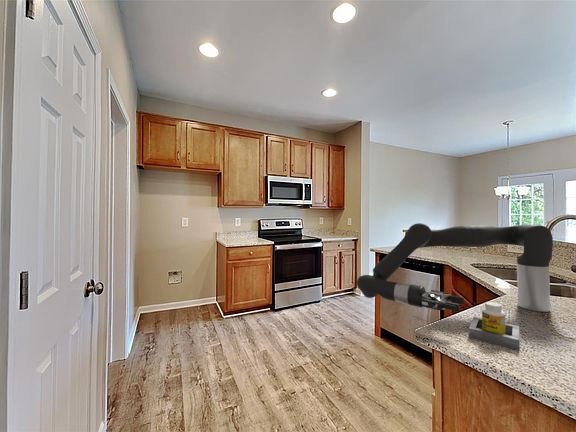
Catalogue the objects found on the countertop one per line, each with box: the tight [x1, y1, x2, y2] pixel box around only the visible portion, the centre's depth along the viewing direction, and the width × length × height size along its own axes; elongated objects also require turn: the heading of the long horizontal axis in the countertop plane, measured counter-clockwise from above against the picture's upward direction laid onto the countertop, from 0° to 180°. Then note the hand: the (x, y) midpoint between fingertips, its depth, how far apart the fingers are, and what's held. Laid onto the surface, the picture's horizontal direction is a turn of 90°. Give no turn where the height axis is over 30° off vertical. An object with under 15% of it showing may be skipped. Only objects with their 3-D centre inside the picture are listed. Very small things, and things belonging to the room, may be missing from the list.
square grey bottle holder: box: [468, 316, 521, 352], centre depth 78 cm, size 11×11×3 cm
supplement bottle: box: [481, 301, 506, 335], centre depth 78 cm, size 6×6×10 cm
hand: (461, 304), depth 83 cm, fingers open, 8 cm apart
